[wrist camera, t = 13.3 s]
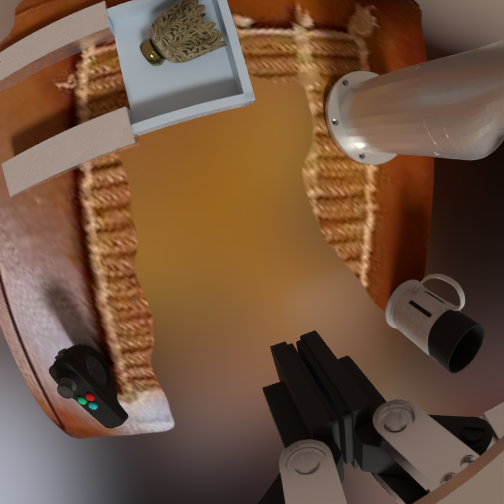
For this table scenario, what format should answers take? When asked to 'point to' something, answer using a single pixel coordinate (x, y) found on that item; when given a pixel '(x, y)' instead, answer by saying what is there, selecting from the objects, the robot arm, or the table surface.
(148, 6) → the tray
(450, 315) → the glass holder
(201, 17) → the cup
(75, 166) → the groove rails
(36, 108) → the table surface
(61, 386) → the controller
